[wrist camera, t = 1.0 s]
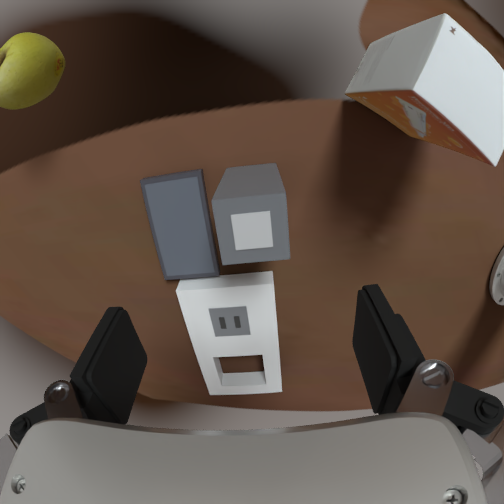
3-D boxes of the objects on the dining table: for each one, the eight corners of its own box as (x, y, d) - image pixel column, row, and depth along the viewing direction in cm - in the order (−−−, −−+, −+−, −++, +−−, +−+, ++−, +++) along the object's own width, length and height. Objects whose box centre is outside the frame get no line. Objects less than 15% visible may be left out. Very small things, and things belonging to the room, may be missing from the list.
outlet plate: (272, 270, 32) (273, 284, 30) (281, 378, 40) (282, 392, 38) (180, 278, 32) (175, 291, 30) (211, 382, 41) (209, 395, 38)
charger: (275, 163, 27) (285, 193, 18) (279, 208, 29) (290, 259, 20) (226, 168, 27) (211, 201, 18) (233, 213, 29) (222, 265, 20)
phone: (202, 168, 27) (200, 170, 26) (220, 271, 32) (219, 276, 31) (143, 178, 27) (139, 180, 26) (167, 275, 32) (164, 280, 31)
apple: (73, 106, 23) (-14, 116, 14) (35, 105, 24) (-37, 116, 15) (88, 31, 19) (4, 21, 10) (46, 40, 21) (-25, 39, 12)
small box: (342, 94, 24) (409, 89, 12) (369, 42, 21) (445, 9, 9) (410, 138, 25) (497, 170, 13) (434, 89, 22) (526, 95, 11)
